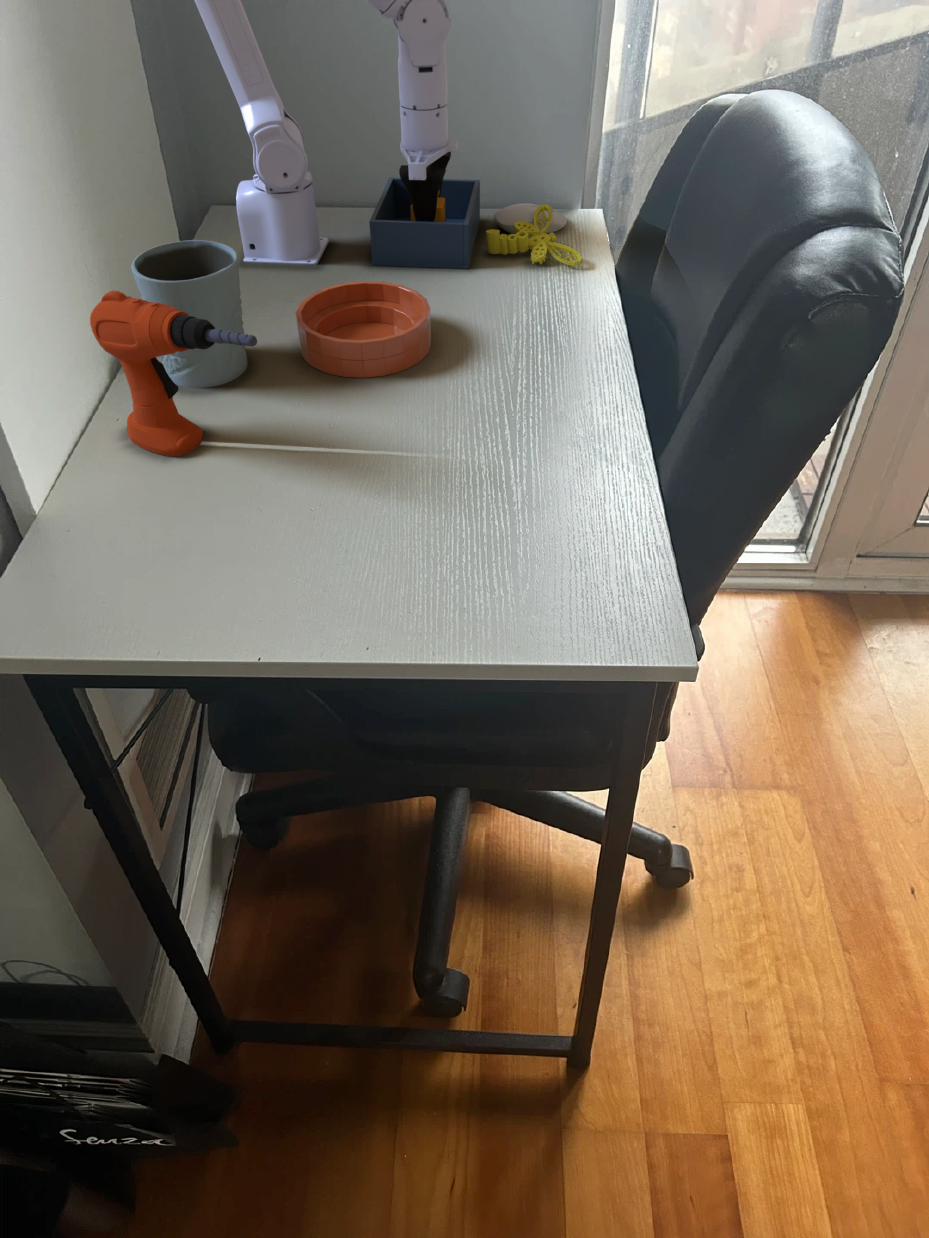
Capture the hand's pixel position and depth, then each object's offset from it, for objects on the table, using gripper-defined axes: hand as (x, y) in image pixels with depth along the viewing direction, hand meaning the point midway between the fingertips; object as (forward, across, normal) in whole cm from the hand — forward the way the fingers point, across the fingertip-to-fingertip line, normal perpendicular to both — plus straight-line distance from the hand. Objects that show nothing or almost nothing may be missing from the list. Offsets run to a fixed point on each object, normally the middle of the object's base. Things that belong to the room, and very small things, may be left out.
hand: (427, 219), depth 122 cm
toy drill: (+3, -50, +15) cm, 52 cm away
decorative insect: (+2, -6, -13) cm, 15 cm away
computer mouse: (+3, +6, -13) cm, 15 cm away
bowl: (+3, -29, +3) cm, 29 cm away
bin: (+3, 0, 0) cm, 3 cm away
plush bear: (+2, 0, 0) cm, 2 cm away
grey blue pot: (+3, -35, +19) cm, 40 cm away
